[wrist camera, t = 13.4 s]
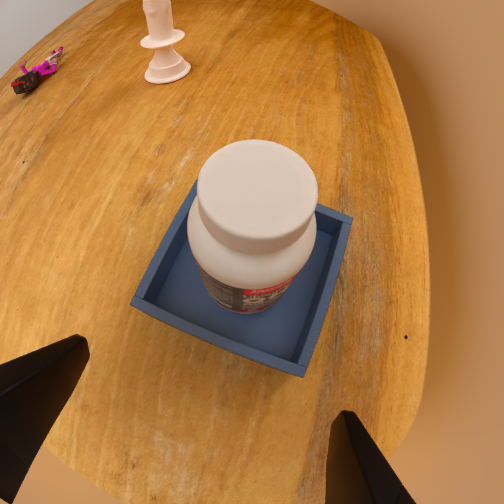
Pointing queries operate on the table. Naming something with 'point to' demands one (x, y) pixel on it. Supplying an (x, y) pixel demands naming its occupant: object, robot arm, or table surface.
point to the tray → (256, 324)
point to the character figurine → (35, 73)
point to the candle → (163, 43)
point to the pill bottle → (252, 223)
